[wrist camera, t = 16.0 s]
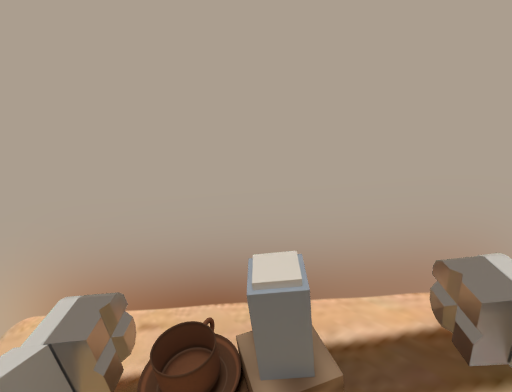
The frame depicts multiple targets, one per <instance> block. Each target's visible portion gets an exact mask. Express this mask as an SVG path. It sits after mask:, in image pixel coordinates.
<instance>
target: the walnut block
mask: <svg viewBox="0 0 512 392" xmlns="http://www.w3.org/2000/svg"><path fill="white" fill-rule="evenodd" d="M312 338H313V355H314V372H315V377H303V378H289V379H274V380H260V375H259V369H258V362H257V356H256V350H255V344H254V338H253V331H250V332H247V333H244V334H241V335H238V336H236V339H237V345H238V350H239V356H240V360H241V366H242V369H243V372H244V376H245V379H246V383H247V386H248V389H249V392H344V375H343V373H342V372H341V370H340V369H339V367H338V366H337V364H336V362H335V361H334V359H333V358H332V356H331V354H330V353H329V351H328V350H327V348H326V347H325V345H324V343H323V342H322V340H321V339H320V337H319V335H318V334H317V332H316V331H315V329H314V327H313V326H312Z"/></svg>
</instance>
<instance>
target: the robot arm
mask: <svg viewBox="0 0 512 392" xmlns="http://www.w3.org/2000/svg"><path fill="white" fill-rule="evenodd" d="M432 274H433V276H434V277H435V278H436V279H437V282H436V283H435V284H434V285H433V286H432V287H431V288H430V302H431V307H432V311H433V313H434V315H435V317H436V319H437V320H438V322H439V323H440V325H441V326H442V327H444V328H445V329H447V330H449V331H450V332H452V333H453V337H452V342H453V344H454V345H455V346H456V348H457V349H458V351H459V352H460V354H461V355H462V356H463V358H464V359H465V361H466V362H467V363H468V365H469V366H479V365H497V364H510V365H509V366H510V367H512V259H511V258H509V257H508V256H507V255H504V254H501V253H494V254H486V255H478V256H476V257H465V258H457V259H447V260H437V261H436V262H435V263H434V265H433V271H432ZM127 305H128V303H127V301H126V299H125V297H124V295H123V294H121V293H107V294H94V295H84V296H72V297H65V298H63V299H61V300H59V302H58V303H57V304H56V305H55V306H54V308H53V309H52V310H51V311H50V312H49V314H48V315H47V316H46V317H45V318H44V319H43V321H42V322H41V323H40V324H39V325H38V326H37V328H36V329H35V330H34V331H33V332H32V334H31V335H30V336H29V337H28V338H27V339H26V341H25V342H24V343H23V344H22V345H21V347H18V348H13V349H11V350H10V351H8V352H7V353H5V354H3V355H2V356H0V392H114V391H115V388H116V386H117V384H118V382H119V379H120V377H121V375H122V373H123V370H124V369H123V366H122V363H121V362H122V361H123V360H125V359H126V358H127V357H128V356H129V355H130V354H131V352H132V349H133V347H134V345H135V338H136V327H135V322H134V319H133V317H132V316H131V315H129V314H128V313H127V312H125V309H126V307H127Z"/></svg>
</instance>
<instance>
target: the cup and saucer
mask: <svg viewBox="0 0 512 392" xmlns="http://www.w3.org/2000/svg"><path fill="white" fill-rule="evenodd" d="M208 323H210V327H209V326H208ZM240 374H241V360H240V356H239V353H238V351H237V349H236V347H235V346H234V345H233V344H232V343H231V342H230V341H229V340H228V339H226V338H225V337H223V336H221V335H218V334H215V333H214V320H213V319H212V318H207V319H206V320H205V321H204V323H201V322H195V321H191V322H184V323H180V324H177V325H175V326H173V327H171V328H169V329H168V330H166V331H165V332H164V333H163V334H161V335H160V336H159V338H158V339H157V340H156V341H155V343H154V345H153V347H152V349H151V353H150V360H149V362H148V363H147V365H146V366H145V368H144V370H143V372H142V374H141V377H140V380H139V384H138V392H235V391H236V388H237V386H238V383H239V379H240Z"/></svg>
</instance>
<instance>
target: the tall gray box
mask: <svg viewBox="0 0 512 392" xmlns="http://www.w3.org/2000/svg"><path fill="white" fill-rule="evenodd" d="M247 300H248V306H249V313H250V319H251V325H252V331H253V338H254V344H255V350H256V356H257V362H258V369H259V375H260V380H274V379H289V378H303V377H315V372H314V355H313V338H312V321H311V303H310V289H309V285H308V281H307V275H306V271H305V266H304V262H303V257H302V254H297V252H296V251H288V252H278V253H267V254H257V255H253V258H251V259H249V262H248V281H247Z"/></svg>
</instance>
